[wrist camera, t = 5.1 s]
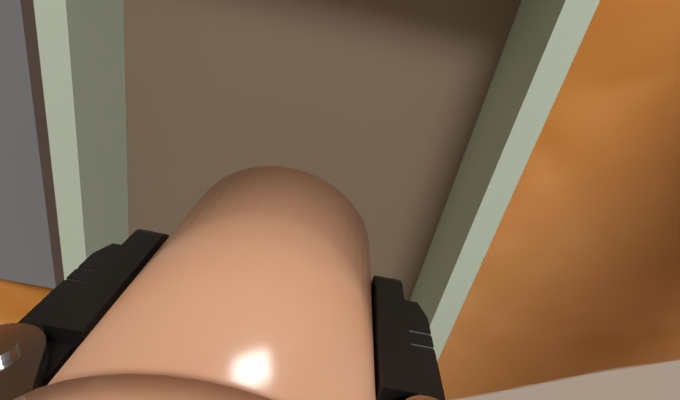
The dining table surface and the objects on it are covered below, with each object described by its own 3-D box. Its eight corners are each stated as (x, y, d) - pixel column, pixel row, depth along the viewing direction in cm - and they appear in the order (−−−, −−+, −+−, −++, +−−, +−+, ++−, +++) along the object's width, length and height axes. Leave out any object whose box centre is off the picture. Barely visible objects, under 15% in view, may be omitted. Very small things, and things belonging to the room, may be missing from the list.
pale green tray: (562, -64, 15) (639, -89, 11) (401, 351, 25) (411, 419, 21) (105, -184, 14) (3, -262, 10) (121, 300, 23) (73, 362, 19)
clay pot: (403, 180, 11) (483, 508, 4) (355, 341, 14) (349, 709, 7) (180, 134, 11) (-178, 398, 4) (176, 308, 14) (-32, 655, 6)
